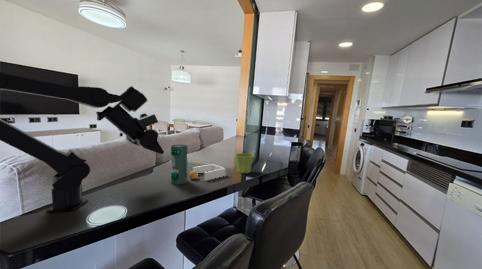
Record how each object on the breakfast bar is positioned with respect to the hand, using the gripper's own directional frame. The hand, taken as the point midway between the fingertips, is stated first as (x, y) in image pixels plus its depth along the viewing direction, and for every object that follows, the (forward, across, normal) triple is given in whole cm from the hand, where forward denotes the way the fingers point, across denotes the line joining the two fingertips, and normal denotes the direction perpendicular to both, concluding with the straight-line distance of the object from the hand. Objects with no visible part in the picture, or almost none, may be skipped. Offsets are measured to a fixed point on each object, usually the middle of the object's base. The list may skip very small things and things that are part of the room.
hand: (158, 151), depth 69 cm
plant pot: (+37, -7, -18) cm, 42 cm away
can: (+15, 0, +4) cm, 16 cm away
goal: (+25, -1, -6) cm, 26 cm away
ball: (+20, -1, -1) cm, 20 cm away
